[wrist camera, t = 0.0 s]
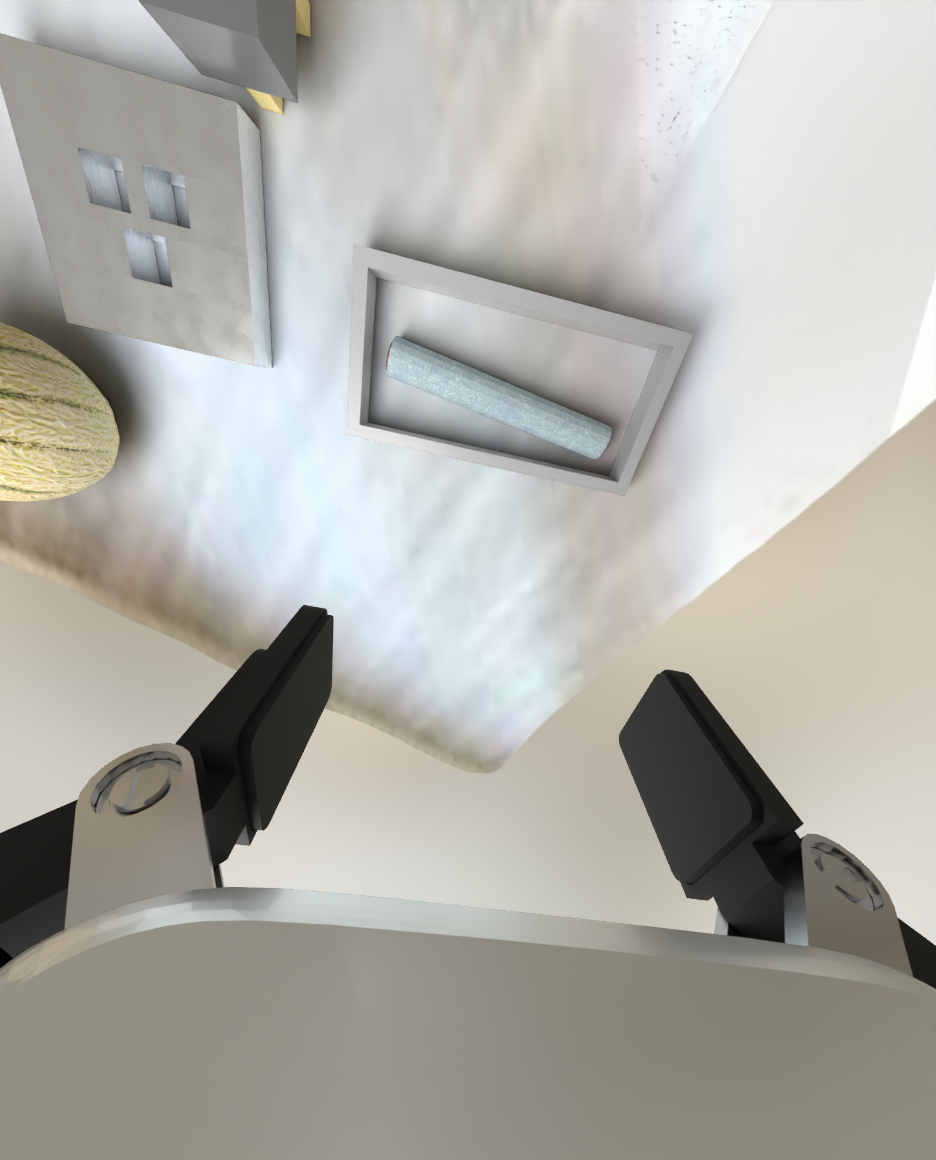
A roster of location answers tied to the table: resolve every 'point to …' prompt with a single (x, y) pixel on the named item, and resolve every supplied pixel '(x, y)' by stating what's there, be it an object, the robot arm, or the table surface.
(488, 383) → the aluminum foil
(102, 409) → the cantaloupe
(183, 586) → the table surface
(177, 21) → the plug
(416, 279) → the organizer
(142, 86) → the socket
